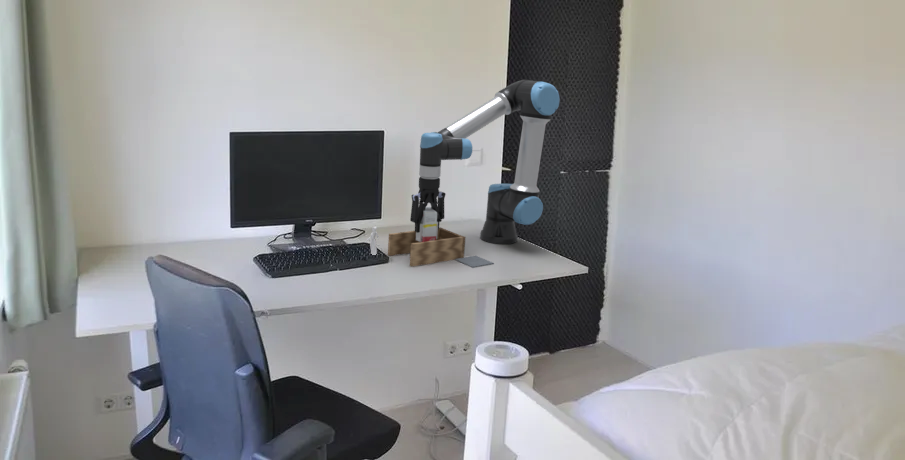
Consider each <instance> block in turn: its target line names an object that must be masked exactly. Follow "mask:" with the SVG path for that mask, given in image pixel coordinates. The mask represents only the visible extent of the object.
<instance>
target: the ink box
mask: <svg viewBox="0 0 905 460" xmlns="http://www.w3.org/2000/svg"><path fill="white" fill-rule="evenodd" d="M421 224H423V228H422V242H426V241H433V240H436V229H437V212H436V211H435V210H434V209H432V208H431V206H426V208H425V211H423V218H422V221H421Z"/></svg>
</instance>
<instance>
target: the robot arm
mask: <svg viewBox="0 0 905 460" xmlns="http://www.w3.org/2000/svg"><path fill="white" fill-rule="evenodd" d="M559 93H560V92H559V91H558V90H557V88H556V86H554V85H553V84H551V83H549V82H546V81H537V80H529V79H522V80H519V81H515V82H513V83H511V84H509V85H507V86H505V87H503V88H502V89H500V90H499V91H497V92H496V93H495V94H494V96H493V98H491V99H489V100H488V101H486V102H484V103H483V104H481V105H479V106H478V107H476V108H475V109H473V110H471V111H470V112H469V113H466V114H465V115H463V116H462V117H460V118H459V119H457V120H456V121H454V122H452V123H451V124H449V125H447V126H446V127H444V128H442V129H441V130H439V131H438V132H437V131H431V132H424V133H422V135H421V137H420V144H419V147H420V149H419V153H420V154H419V167H418V168H419V171H418V172H419V173H418V174H419V177H418V189H419V190H418V193H416V194H412V195H411V210H410V211H411V212H410V219H409V220H410V222H411V223H414V231H415V232H416V240H417V241H419V242H422V228H423V224H421V221H422V218H423V211H425V208H426V207H428V205H429V204H430V207H431V208H432V209H434V210H435V211H436V212H437V229H436V239H437V234H438V229H439V228H440V223H441V222H442V221H443V220H444V219H445V197H446V195H447V194H446V193H445V192H444V191H440V188H441V179H440V177H441V174H442V173H441V172H442V171H441V167H442V161H446V160H447V161H451V160H452V161H455V160H458V161H459V160H460V161H462V160H467V159H469V158H471V157H472V155H473V144H472V141H471V140H470V139H469V138H468V137H470V136H472V135H473V134H475V133H477V132H478V131H480V130H482V129H483V128H485V127H486V126H488V125H489V124H491V123H493V122H494V121H495V120H497V119H499V118H501V117H502V116H503V115H505V116H506V115H507V116H508V115H510V114H512V113H515V112H517V111H520V112H519V113H520V115H519V117H520V118H521V119H522V127H521V134H520V141H519V148H518V155H517V163H516V169H515V174H514V175H515V176H514V181H513V182H514V183H492V184H490V185H489V186H488V192H487V204H486V217H485V221H484V224H483V225H482V226H483V227H482V230H481V231H480V235H479V239H481V240H482V241H484V242H488V243H491V244H499V245H509V244H510V245H511V244H515V243H516V242H518V233H517V228H516V223H517V224H520V225H521V224H522V225H525V226H528V225H529V226H530V225H533V224H534V223H536V221H538V220H539V219H540V218H541V216H542V213H543V210H544V205H543V202H542V199H540V198H539V197H540V189H539V188H538V186H537V183H538V178H539V172H540V163H541V158H542V153H543V151H542V150H543V144H544V138H545V132H546V131H545V130H546V125H547V123H548V122H550V121H551V119H552V115H553V114H555V112H556V111H557V110H558V108H559V106H560V101H561V100H560V94H559Z"/></svg>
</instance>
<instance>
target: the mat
mask: <svg viewBox="0 0 905 460" xmlns="http://www.w3.org/2000/svg"><path fill="white" fill-rule="evenodd" d="M454 261H456V262H459V263H461V264H464V265H466V266H468V267H470V268H472V269H473V268H479V267H484V266H491V265H494V262H492V261H490V260H488V259H485V258H483V257H480V256H478V255H470V256H464V258H458V259H455V260H454Z"/></svg>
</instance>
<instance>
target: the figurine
mask: <svg viewBox="0 0 905 460" xmlns="http://www.w3.org/2000/svg"><path fill="white" fill-rule="evenodd" d="M379 238H380V237H379V233H378V232H377V226H376V225H374V226H372V228H371V233H370V236H369V237H367V238H366V240H365V241H364V244H365V243H367V241H369V246H370V254H372V255H376V254H377V255H378V249H377V240H379ZM376 239H377V240H376Z"/></svg>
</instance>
